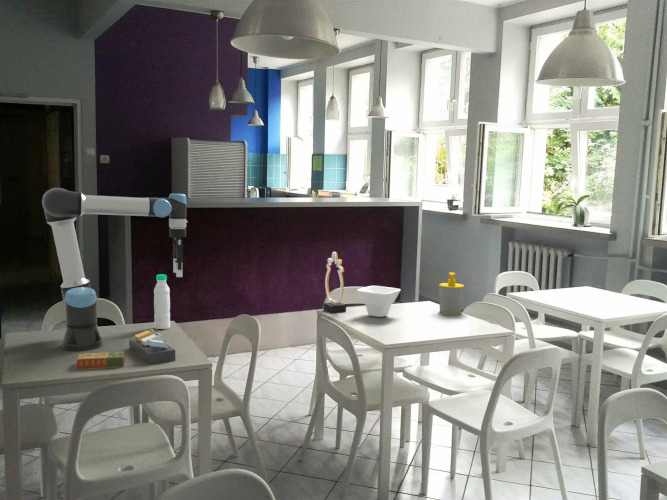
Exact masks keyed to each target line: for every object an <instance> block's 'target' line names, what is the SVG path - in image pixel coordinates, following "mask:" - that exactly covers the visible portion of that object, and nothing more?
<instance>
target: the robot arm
mask: <svg viewBox="0 0 667 500" xmlns="http://www.w3.org/2000/svg"><path fill="white" fill-rule="evenodd" d="M41 204H42V208H43V211H44V216H45V221H46V224H47V225H49V226H51V230H52V235H53V241H54V245H55V247H56V248H55V249H56V254H57V259H58V263H59V267H60V273H61V277H62V283H61V285H60V292H61V296H62V303H63V306H64V308H65V322H66V325H65V326H66V328H65V332H64V335H63V339H62V342H61V345H62V349H63V350H64V351H70V352H72V351H73V352H81V351H82V352H83V351H90V350H95V349H98V348H100V347H102V346H103V339H102V336H101V335H102V334H101V333H100V330H99V327H98V313H97V312H98V311H97V310H98V309H97V298H98V297H97V292H96V291H95V289H93V288H92V287H91V286H92V285H91V283H90V282H91V281H90V279H87V278H86V276H85V271H84V266H83V262H82V257H81V253H80V247H79V242H78V239H77V238H78V237H77V233H76V228H75V221H76V220H77V218H78V217H82V216H83V215H110V216H133V217H134V216H136V217H137V216H138V217H141V216H142V217H158V218H166V217H168V216H169V218H168V227H169V229H168V230H169V231H168V233H169V235H168V237H170V238H173V240H172V244H173V245H172V247H173V248H172V258H173V259H172V261H173V262H172V263H173V264H172V265H173V266H172V267H173V269H172V270H173V274H175V277H176V278H183V267H184V266H183V262H184V255H183V253H184V252H183V248H184V247H183V245H184V241H183V239H182V238H186V237H187V223H188V222H189V221H188V220H187V205H188V204H187V195H186V194H184V193H170V194H169V196H168V197H133V196H132V197H130V196H109V195H90V194H88V195H87V194H84V193H83V192H81V191H71V190H67V189H65V188H62V187H54V188H50V189H48V190H46V191H45V193H44V194H43V196H42V198H41Z"/></svg>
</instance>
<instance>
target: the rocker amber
mask: <svg viewBox="0 0 667 500" xmlns="http://www.w3.org/2000/svg"><path fill="white" fill-rule="evenodd" d="M155 333H156V331H155V330H154V329H152V328H150V329H148V330H144V331H142V332H140V333H137V334H135V335H134V338H136V340H138V341H141V339H143V338H145V337H148V336H150V335H153V334H155Z"/></svg>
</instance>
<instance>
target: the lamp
mask: <svg viewBox="0 0 667 500" xmlns="http://www.w3.org/2000/svg"><path fill="white" fill-rule="evenodd" d="M333 262H334V265H335V267H336V268H338V269H337V274H338V277H339V282H340V284H339V285H340V287H339V294H338V299H337V300H335V299H332V296H331V293H330V289H329V288H330V287H329V278H330V273H331V272H332V271H331V270H332V268H331V266H332V265H333ZM342 264H343V259H341V258H339V257H338V253H337V252H336V251H332V252H331V257H328V258H327V263H326V266H325V267H326V270H327V271H326V273H325V274H326V275H325V279H324V286H325V287H324V288H325V294H326V297H327V300H328V301H329V302H323V304H322V305H323V307H322V308H323V309H322V310H323V311H325V312H327V313H329V314H337V313H346V312H347V304H345V303H342V302H341V301H342V298H343V296H344V289H345V286H344V285H345V283H344V276H343V273H344V272H345V268H344V267H343V266H342Z"/></svg>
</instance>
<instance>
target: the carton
mask: <svg viewBox="0 0 667 500" xmlns="http://www.w3.org/2000/svg"><path fill="white" fill-rule="evenodd" d="M125 354H126V353H125V351H111V352H110V351H109V352H108V351H107V352H89V353H79V354H78V357H77V359H76V370H78V371H79V370H92V369H93V370H95V369H96V370H98V369H113V368H114V369H115V368H124V367H125V362H126V361H125V359H126V355H125Z"/></svg>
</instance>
